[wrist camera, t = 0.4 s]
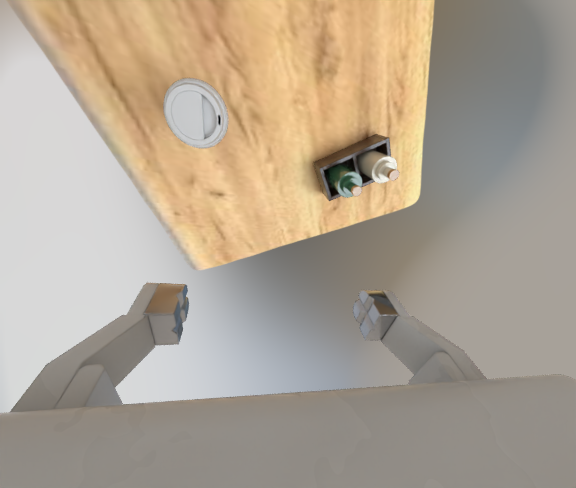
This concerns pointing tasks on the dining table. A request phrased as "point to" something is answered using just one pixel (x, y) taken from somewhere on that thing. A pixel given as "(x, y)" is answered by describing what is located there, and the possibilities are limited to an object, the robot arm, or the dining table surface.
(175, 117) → the coffee cup
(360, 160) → the cream bottle
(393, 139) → the dining table surface
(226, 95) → the dining table surface
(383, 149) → the caddy
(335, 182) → the green bottle
